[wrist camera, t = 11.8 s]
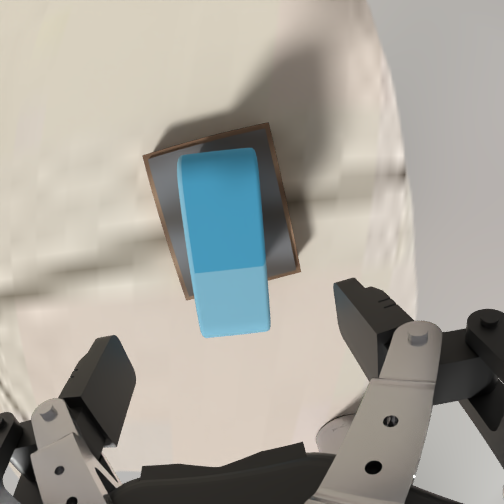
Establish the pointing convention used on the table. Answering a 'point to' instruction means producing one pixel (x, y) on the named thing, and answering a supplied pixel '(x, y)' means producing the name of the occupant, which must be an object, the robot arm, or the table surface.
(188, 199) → the blue rectangular block
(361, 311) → the robot arm
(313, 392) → the table surface
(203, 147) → the stand
